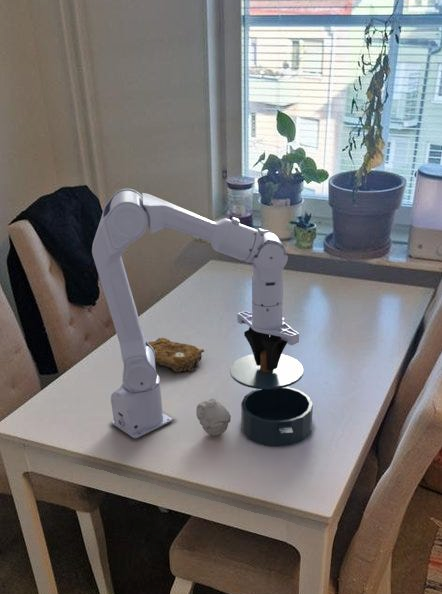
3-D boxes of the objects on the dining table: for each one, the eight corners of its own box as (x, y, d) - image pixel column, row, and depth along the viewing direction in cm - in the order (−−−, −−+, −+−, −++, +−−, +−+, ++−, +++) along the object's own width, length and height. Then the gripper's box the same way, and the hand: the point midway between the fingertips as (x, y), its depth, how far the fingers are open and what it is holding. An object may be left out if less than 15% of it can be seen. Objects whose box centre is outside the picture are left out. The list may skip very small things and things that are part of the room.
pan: (299, 400, 140) (300, 376, 137) (321, 451, 125) (323, 426, 122) (235, 405, 139) (235, 382, 136) (250, 458, 123) (250, 433, 120)
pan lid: (295, 354, 139) (295, 334, 136) (311, 388, 127) (312, 367, 125) (225, 360, 138) (225, 339, 135) (235, 395, 126) (235, 373, 123)
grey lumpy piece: (209, 420, 134) (207, 390, 131) (238, 431, 131) (237, 400, 127) (190, 435, 130) (188, 404, 127) (220, 446, 127) (219, 414, 123)
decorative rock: (130, 365, 156) (185, 381, 150) (128, 350, 154) (184, 365, 148) (157, 343, 164) (210, 358, 158) (155, 328, 161) (210, 342, 155)
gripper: (311, 305, 122) (308, 371, 129) (255, 284, 131) (255, 348, 138) (284, 316, 118) (282, 384, 125) (228, 294, 127) (230, 359, 134)
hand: (266, 366), depth 131 cm, fingers closed on pan lid, 2 cm apart
